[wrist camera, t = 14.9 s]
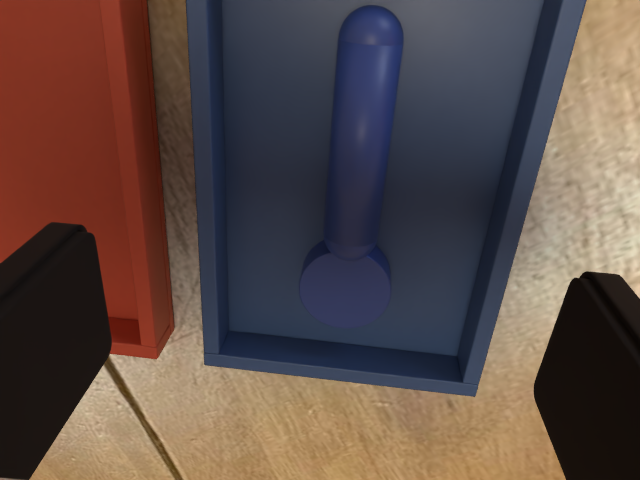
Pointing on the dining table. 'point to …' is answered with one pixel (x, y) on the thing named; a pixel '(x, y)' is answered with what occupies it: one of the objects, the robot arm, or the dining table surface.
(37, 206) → the red tray
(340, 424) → the dining table surface
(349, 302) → the blue spoon
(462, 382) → the blue tray
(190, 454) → the dining table surface
